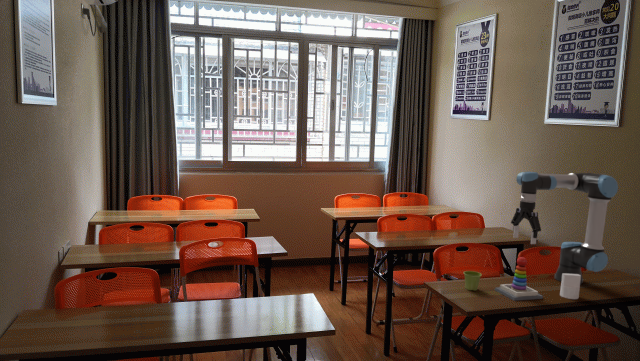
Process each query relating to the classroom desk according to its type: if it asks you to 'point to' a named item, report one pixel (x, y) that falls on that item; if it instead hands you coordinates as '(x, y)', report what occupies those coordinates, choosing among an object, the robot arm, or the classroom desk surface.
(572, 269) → the robot arm
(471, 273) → the plant pot
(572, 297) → the cylinder with rectangular tab
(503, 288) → the board
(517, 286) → the stacking toy
